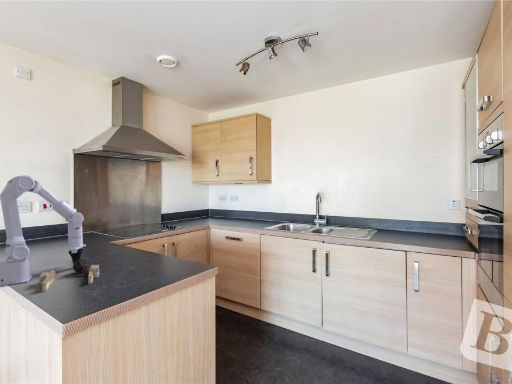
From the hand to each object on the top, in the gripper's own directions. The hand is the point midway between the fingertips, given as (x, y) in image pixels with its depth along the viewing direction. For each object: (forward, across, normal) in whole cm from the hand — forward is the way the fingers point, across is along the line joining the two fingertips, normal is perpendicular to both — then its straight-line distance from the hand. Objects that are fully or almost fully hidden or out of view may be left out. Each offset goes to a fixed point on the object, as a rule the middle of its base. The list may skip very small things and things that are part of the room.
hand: (76, 264), depth 130 cm
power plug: (+2, -13, -4) cm, 14 cm away
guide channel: (+1, -20, 0) cm, 20 cm away
